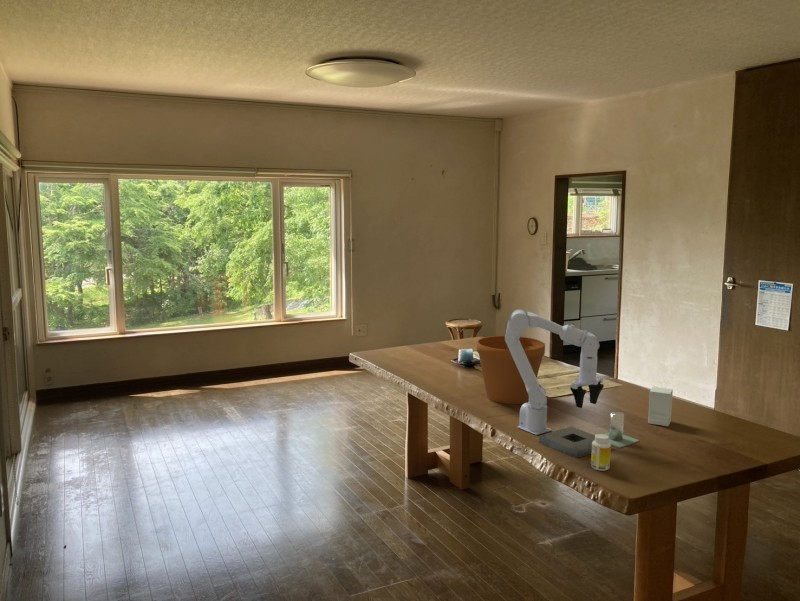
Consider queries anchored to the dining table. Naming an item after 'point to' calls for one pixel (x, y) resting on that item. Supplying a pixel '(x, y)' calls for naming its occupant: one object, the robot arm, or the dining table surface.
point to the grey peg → (616, 426)
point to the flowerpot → (507, 368)
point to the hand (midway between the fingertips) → (586, 405)
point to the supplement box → (660, 406)
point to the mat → (622, 443)
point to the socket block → (569, 441)
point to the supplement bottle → (601, 453)
